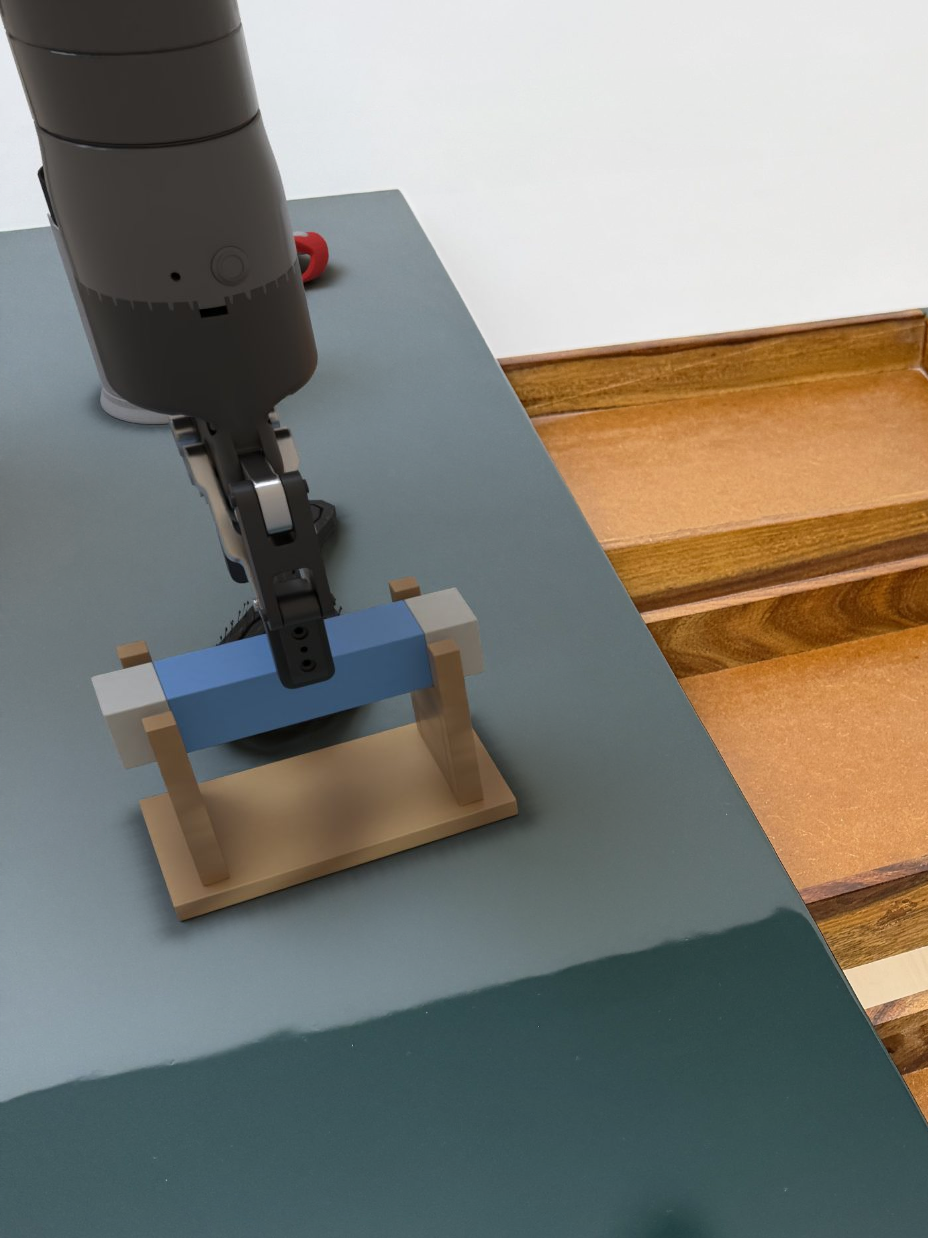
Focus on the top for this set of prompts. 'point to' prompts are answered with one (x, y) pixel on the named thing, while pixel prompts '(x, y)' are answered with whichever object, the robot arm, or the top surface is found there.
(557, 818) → the top surface
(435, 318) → the top surface
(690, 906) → the top surface
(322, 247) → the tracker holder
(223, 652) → the handle
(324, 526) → the hairbrush
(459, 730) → the holder
